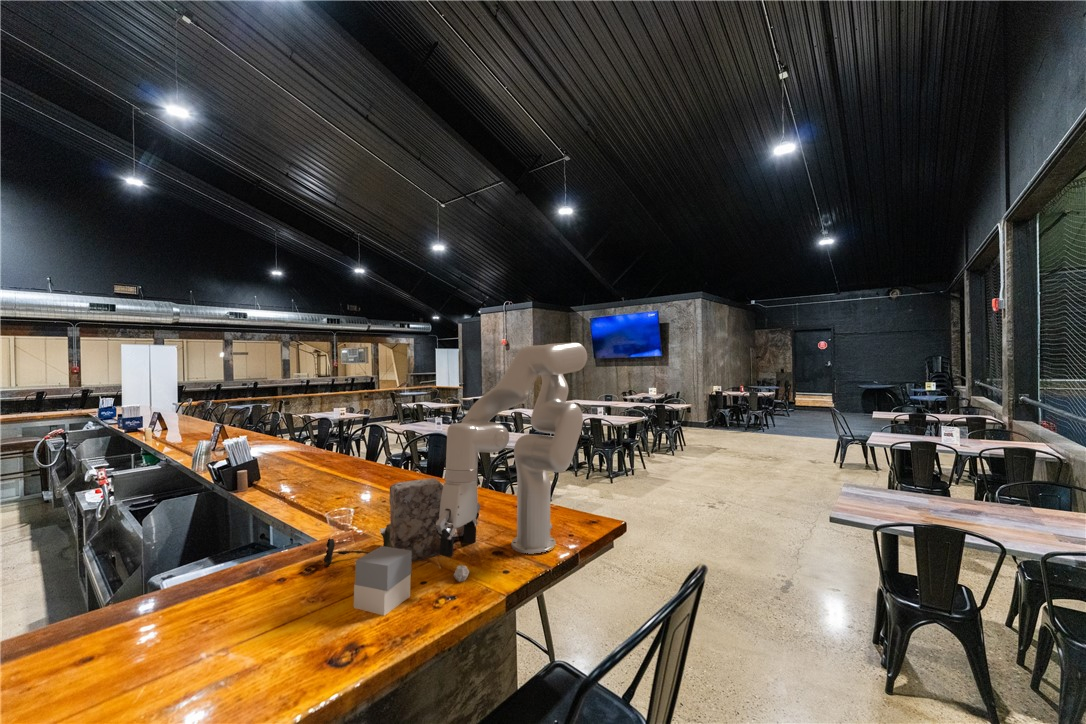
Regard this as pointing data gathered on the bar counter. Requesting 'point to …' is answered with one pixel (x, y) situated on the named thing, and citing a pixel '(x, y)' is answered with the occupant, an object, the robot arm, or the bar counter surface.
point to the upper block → (383, 568)
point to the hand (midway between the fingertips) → (458, 548)
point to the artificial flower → (330, 544)
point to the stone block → (415, 517)
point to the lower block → (381, 597)
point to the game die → (461, 573)
